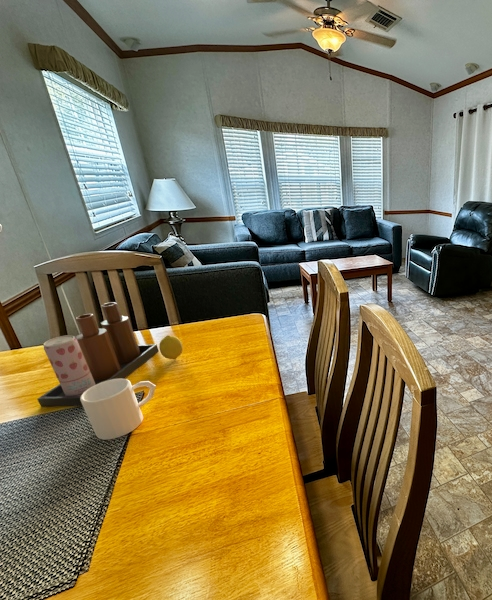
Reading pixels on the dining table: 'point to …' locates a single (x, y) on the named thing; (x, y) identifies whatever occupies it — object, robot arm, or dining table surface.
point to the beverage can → (69, 365)
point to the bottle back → (120, 333)
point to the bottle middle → (96, 348)
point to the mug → (114, 407)
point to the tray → (60, 400)
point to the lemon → (171, 347)
